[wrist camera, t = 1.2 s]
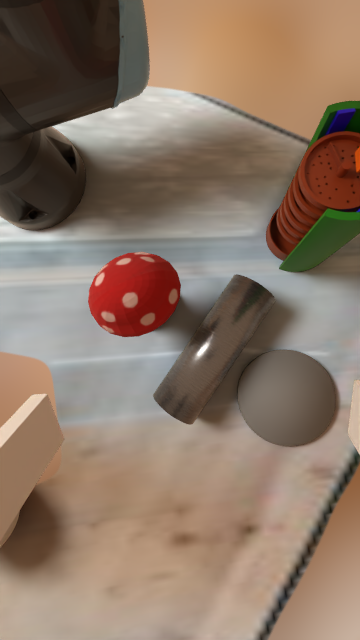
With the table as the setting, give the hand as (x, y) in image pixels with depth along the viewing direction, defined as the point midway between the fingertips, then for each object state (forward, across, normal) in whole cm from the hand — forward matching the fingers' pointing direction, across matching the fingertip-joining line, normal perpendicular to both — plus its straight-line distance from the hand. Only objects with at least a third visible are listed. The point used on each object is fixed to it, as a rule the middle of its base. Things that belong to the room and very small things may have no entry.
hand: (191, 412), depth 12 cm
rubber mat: (+21, +9, -16) cm, 28 cm away
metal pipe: (+24, 0, -10) cm, 26 cm away
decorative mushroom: (+26, -8, -4) cm, 28 cm away
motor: (+31, +13, +3) cm, 34 cm away
